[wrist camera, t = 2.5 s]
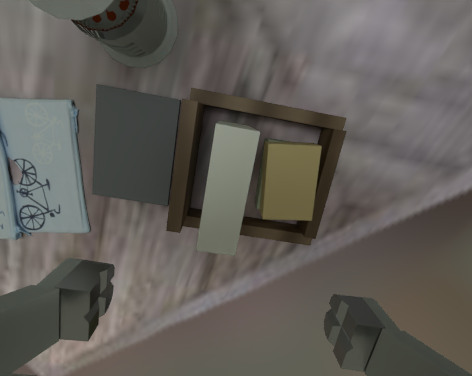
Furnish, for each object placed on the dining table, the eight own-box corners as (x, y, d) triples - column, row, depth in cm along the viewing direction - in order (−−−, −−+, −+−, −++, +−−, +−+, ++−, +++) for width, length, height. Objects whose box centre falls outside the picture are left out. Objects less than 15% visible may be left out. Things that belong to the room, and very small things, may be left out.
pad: (180, 100, 33) (180, 100, 32) (168, 204, 36) (167, 205, 36) (99, 84, 32) (96, 84, 31) (94, 192, 35) (92, 194, 35)
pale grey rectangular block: (247, 125, 34) (260, 131, 20) (232, 204, 37) (235, 256, 23) (220, 120, 33) (215, 123, 20) (207, 200, 36) (195, 250, 23)
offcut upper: (313, 143, 32) (321, 145, 29) (304, 211, 34) (311, 220, 31) (264, 141, 32) (268, 143, 29) (259, 210, 34) (262, 219, 31)
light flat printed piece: (-88, 91, 32) (-110, 90, 30) (82, 100, 33) (72, 99, 31) (-49, 234, 37) (-65, 241, 35) (96, 237, 38) (89, 244, 36)
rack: (336, 117, 34) (368, 118, 26) (303, 235, 38) (323, 265, 31) (194, 90, 32) (184, 82, 25) (177, 216, 37) (164, 242, 29)
